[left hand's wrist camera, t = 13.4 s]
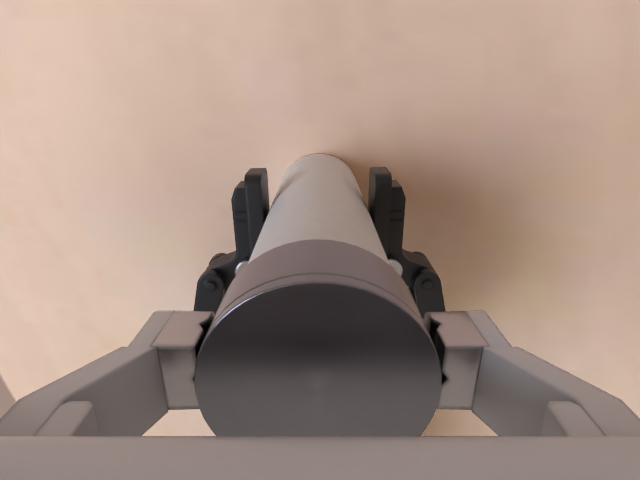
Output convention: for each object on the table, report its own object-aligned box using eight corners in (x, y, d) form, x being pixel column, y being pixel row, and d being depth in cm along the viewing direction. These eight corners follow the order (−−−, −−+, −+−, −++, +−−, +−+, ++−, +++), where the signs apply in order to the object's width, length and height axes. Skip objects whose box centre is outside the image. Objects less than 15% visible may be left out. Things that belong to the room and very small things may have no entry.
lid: (442, 370, 11) (472, 438, 9) (274, 428, 12) (264, 503, 10) (374, 204, 9) (391, 239, 7) (181, 286, 10) (144, 339, 8)
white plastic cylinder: (369, 210, 25) (452, 418, 9) (300, 239, 25) (270, 477, 10) (339, 140, 23) (380, 246, 8) (267, 173, 24) (168, 331, 8)
